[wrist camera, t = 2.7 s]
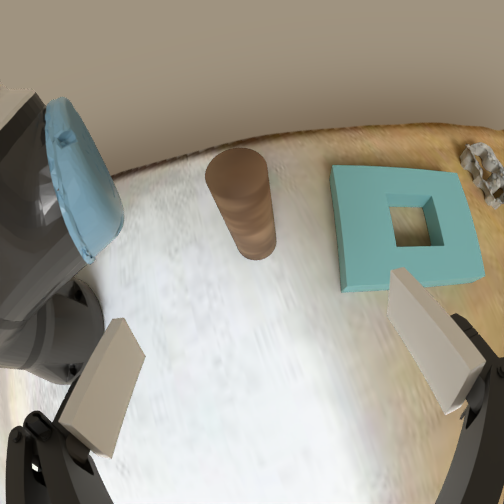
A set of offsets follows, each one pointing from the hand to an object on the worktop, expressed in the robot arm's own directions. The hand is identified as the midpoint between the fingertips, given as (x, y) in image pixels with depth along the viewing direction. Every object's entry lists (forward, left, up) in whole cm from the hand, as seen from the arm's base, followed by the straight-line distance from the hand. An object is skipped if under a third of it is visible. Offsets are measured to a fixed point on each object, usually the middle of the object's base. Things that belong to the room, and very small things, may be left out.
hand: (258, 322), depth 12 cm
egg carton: (+34, +21, -16) cm, 43 cm away
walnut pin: (-2, +10, -16) cm, 19 cm away
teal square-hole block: (+16, +11, -16) cm, 25 cm away
